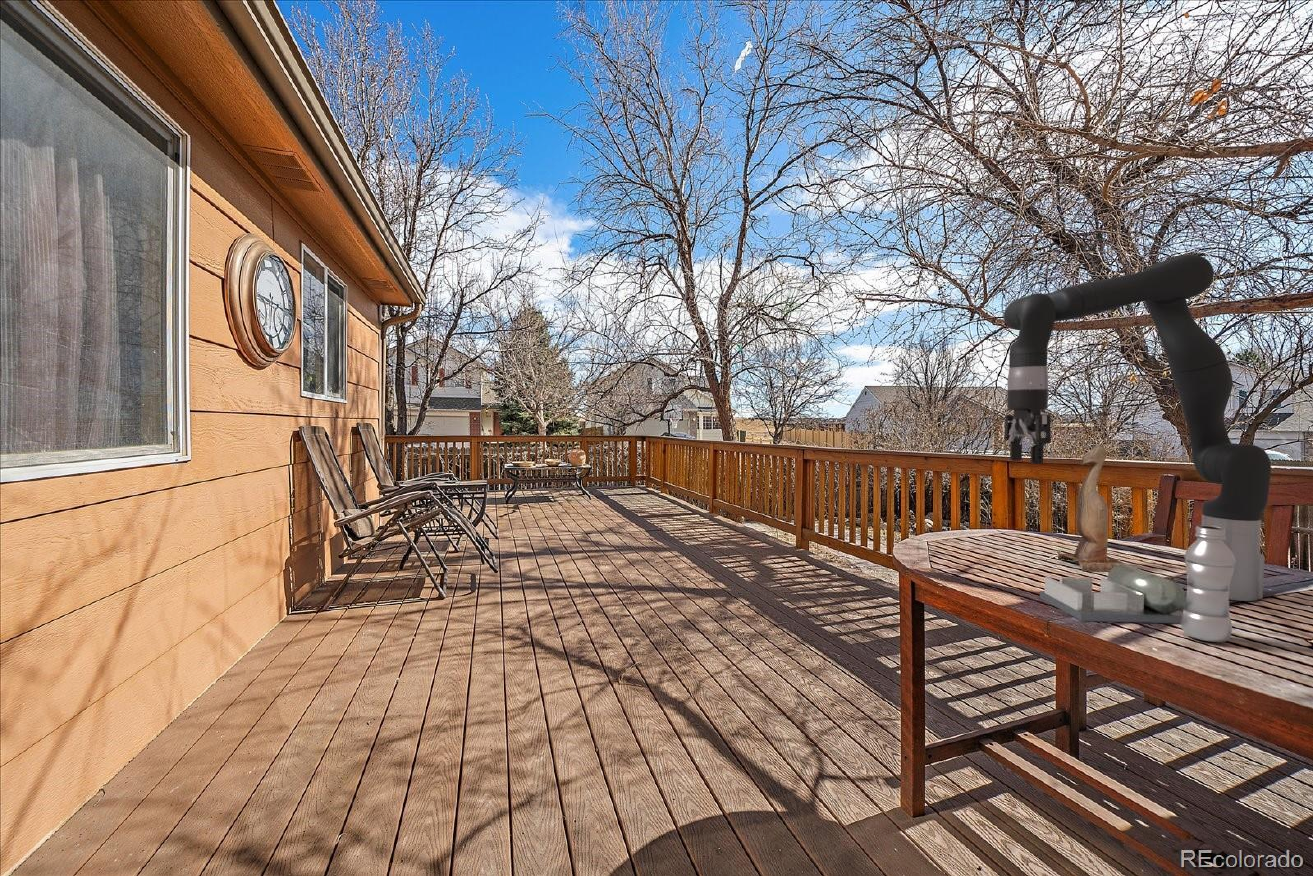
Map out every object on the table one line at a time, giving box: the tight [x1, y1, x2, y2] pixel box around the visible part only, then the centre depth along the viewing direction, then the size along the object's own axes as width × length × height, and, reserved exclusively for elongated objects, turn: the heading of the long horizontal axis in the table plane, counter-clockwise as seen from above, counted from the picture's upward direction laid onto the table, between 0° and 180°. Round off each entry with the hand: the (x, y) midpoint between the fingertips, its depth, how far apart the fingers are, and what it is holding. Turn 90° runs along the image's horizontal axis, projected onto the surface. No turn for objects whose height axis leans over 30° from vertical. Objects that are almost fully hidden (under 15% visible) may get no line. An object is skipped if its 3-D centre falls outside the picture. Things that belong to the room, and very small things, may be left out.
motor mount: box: [1039, 563, 1186, 624], centre depth 120 cm, size 20×14×8 cm
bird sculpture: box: [1057, 444, 1127, 573], centre depth 152 cm, size 11×12×32 cm
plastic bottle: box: [1180, 525, 1236, 643], centre depth 104 cm, size 6×7×20 cm
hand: (1025, 462), depth 130 cm, fingers open, 8 cm apart
